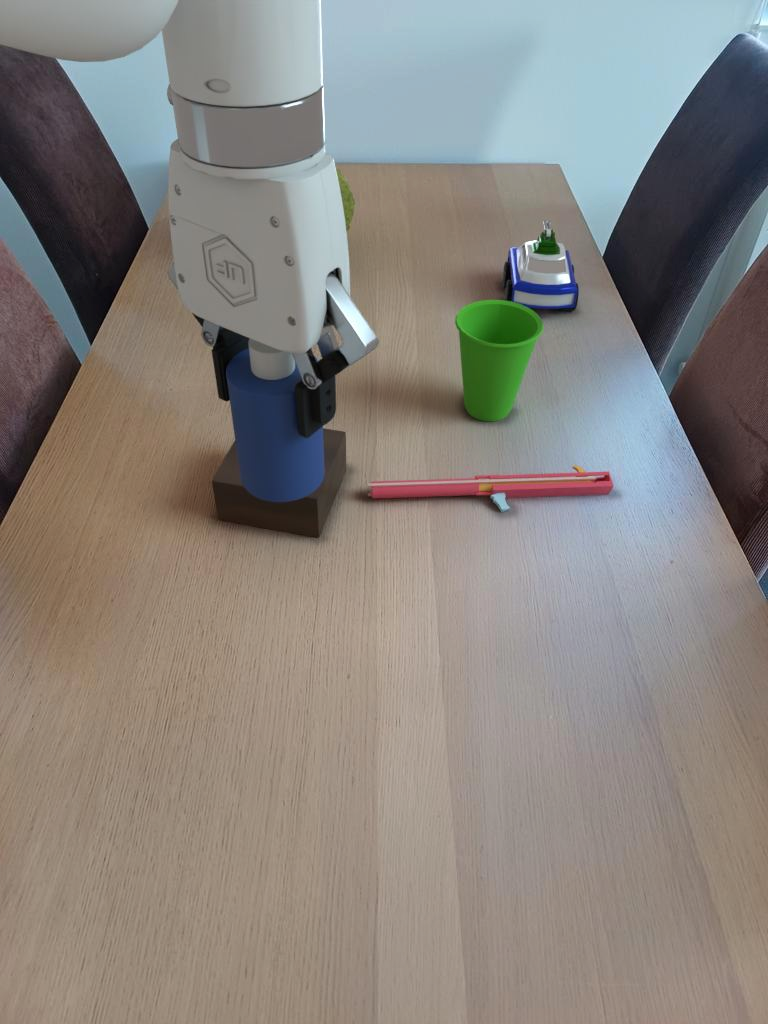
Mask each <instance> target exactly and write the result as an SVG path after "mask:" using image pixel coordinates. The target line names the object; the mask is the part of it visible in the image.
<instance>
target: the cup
mask: <svg viewBox="0 0 768 1024" xmlns="http://www.w3.org/2000/svg"><path fill="white" fill-rule="evenodd" d="M454 324H455V327H456V330H458V338H459V352H460V363H461V376H462V377H461V379H462V390H463V401H464V402H463V403H464V406H465V409H466V412H467V413H468V414H469V415H470V416H471V417H473V418H474V419H476V420H479V421H482V422H483V421H484V422H496V421H501V420H503V419H504V418H506V417H507V416H509V414H510V413H511V411H512V409H513V406H514V403H515V400H516V397H517V394H518V391H519V390H520V387H521V383H522V381H523V379H524V375H525V373H526V371H527V367H528V365H529V362H530V358H531V355H532V353H533V350H534V347H535V344H536V342H537V340H538V338H540V337H541V336H542V334H543V331H544V323H543V321H542V318H541V316H540V315H539V314H538V313H537V312H536V311H535V310H534V309H531V307H526V306H523V305H521V304H518V303H515V302H511V301H505V299H484V300H479V301H474V302H471V303H469V304H467V305H465V306H464V307H462V308H461V309H460V310H459V311H458V313H457V315H456V316H455V320H454Z"/></svg>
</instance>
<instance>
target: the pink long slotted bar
mask: <svg viewBox="0 0 768 1024" xmlns="http://www.w3.org/2000/svg"><path fill="white" fill-rule="evenodd" d="M572 470H574V471H576V472H553V473H528V474H527V473H526V474H525V473H524V474H487V475H486V474H485V475H481V474H480V475H474V477H471V478H469V477H468V478H441V479H440V478H439V479H436V478H435V479H411V480H410V479H408V480H407V479H406V480H379V481H378V480H376V481H375V480H373V481H371V483H368V486H367V487H368V488H371V489H370V490H371V492H368V493H367V497H371V499H392V498H395V499H396V498H397V499H399V498H426V497H428V498H429V497H453V496H454V497H455V496H457V497H458V496H477V497H478V496H479V497H480V496H489V498H490V499H492V503H494V504H495V505H496V506H497V507H498V509H499V511H500V512H501V513H503V512H508V511H509V510H510V508H511V507H510V506H509V505H508V503H507V501H506V499H515V498H516V499H517V498H542V497H543V498H545V497H546V498H547V497H570V496H574V497H575V496H596V495H600V496H601V495H610V493H611V491H612V490H613V488H614V481H613V479H612V477H611V473H610V471H586V470H585V469H584V468H583V467H581V466H579V465H573V466H572Z"/></svg>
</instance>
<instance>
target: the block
mask: <svg viewBox="0 0 768 1024" xmlns="http://www.w3.org/2000/svg"><path fill="white" fill-rule="evenodd" d="M346 434H347V433H346V431H344V430H338V429H331V428H325V427H323V443H324V467H325V475H324V479H323V481H322V483H321V484H320V486H319V487H318V488H317V489H316V490H315V491H314V492H313V493H311V494H309V495H308V496H306V497H304V498H301V499H298V500H294V501H289V502H271V501H266V500H262V499H259V498H257V497H255V496H253V495H252V494H250V493H249V492H248V491H247V490H246V489H245V488H244V486H243V484H242V482H241V478H240V470H239V463H238V456H237V449H236V442H235V440H234V442H233V443H232V445H231V446H230V448H229V450H228V451H227V453H226V455H225V457H224V459H223V460H222V461H221V463H220V465H219V467H218V469H217V470H216V472H215V473H214V476H213V477H212V479H211V487H212V492H213V498H214V503H215V510H216V516H217V520H218V521H223V522H228V523H234V524H239V525H240V524H241V525H244V526H251V527H257V528H260V529H261V528H262V529H268V530H272V531H273V530H274V531H278V532H283V533H290V534H295V535H300V536H301V535H302V536H306V537H310V538H311V537H313V538H317V539H320V537H321V535H322V532H323V530H324V527H325V525H326V521H327V519H328V516H329V515H330V512H331V509H332V506H333V505H334V502H335V499H336V497H337V494H338V492H339V489H340V487H341V485H342V482H343V480H344V477H345V474H346V472H347V435H346Z"/></svg>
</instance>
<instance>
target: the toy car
mask: <svg viewBox="0 0 768 1024" xmlns="http://www.w3.org/2000/svg"><path fill="white" fill-rule="evenodd" d="M542 226H543V231H541V233H540V235H539V236H537V240H530V241H526V242H524V243H523V244H521V245H520V246H515V247H511V248H509V250H508V253H507V259H506V261H505V262H504V265H503V271H502V287H503V288H502V289H504V300H505V301H511V302H515V303H518V304H521V305H523V306H526V307H528V308H530V309H531V308H533V309H543V310H545V309H547V310H549V309H552V310H553V309H554V310H555V309H556V311H570V312H573V311H575V310H576V309H577V306H578V302H579V293H580V292H579V291H580V290H579V289H580V288H579V284H578V283H577V281H576V277H575V267H574V264H572V259H571V256H570V251H569V250H567V249H566V248H565V246H564V244H563V243H561V242H557V240H556V232H554V229H553V228H551V220H547V221H546V220H543V221H542Z"/></svg>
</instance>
